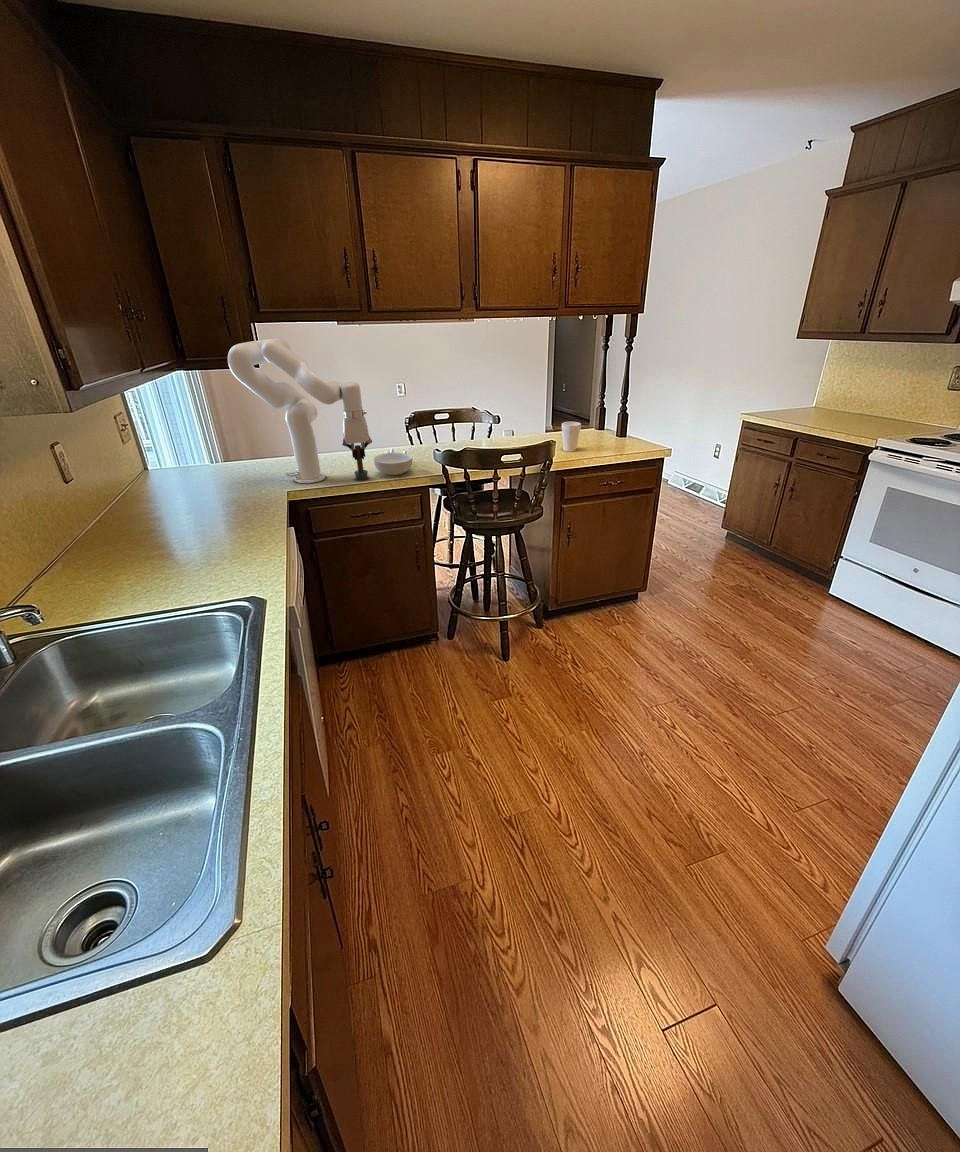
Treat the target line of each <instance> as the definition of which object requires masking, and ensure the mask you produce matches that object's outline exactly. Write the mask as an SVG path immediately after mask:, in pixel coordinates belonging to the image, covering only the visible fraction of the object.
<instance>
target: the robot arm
mask: <svg viewBox="0 0 960 1152" xmlns="http://www.w3.org/2000/svg"><path fill="white" fill-rule="evenodd" d="M266 363H270V364H272V365H273V366H274V367H276V368H277V369H279V370H280V371H281V372H283V373H284V374H286V375H287V376H288V377H290V378H292V379H293V380H294V381H295V382H296V383H297V384H298V385H299V386H300V387H301V388H302V390H303V391H305V393H307V394H308V395H310V396H311V397H313V398H314V399H316V400H317V401H318V402H320V403H322V404H325V405H333V404H335V403H337V402H339V401H342V408H343V416H344V417H342V435H343V438H342V441H341V445H342V446H344V447H347V448H348V449H349V450H351V452H352V453H351V455H352V458H353V459H354V461H357V456H356V450H355V444H360V446H361V454H362V460H365V457H366V451H365V450H366V449H367V447H368V446H369V445H371V444H372V443H373V440H372V438H371V436H370V433H369V427H368V424H367V419H366V417H365V415H367V414H368V413H367V410H364V409H363V402H362V394H361V386H360V384H359V382H356V381H346V382H341V381H335V380H333V381H329V382H325V381H324V380H322V379H320V378H319V377H318V376H316V375H315V374H314V372H312V371H311V369H310V366H309V363H308V362H307V361H306V359H304V358H303V357H301V356H299V355H298V354H296V353H295V352H294V351H293V350H292V349H291V346H290V344H289V343H288V342H287V340H285V339H283V338H281V337H273V338H268V339H259V340H253V341H246V342H241V343H237V344H235V345H233V346H231V348H230V349H229V351H228V353H227V364H228V367H229V370H230V372H231V373H232V375H233V376H234V377H235V378H236V379H237V380H238V381H239V382H240V383H241V384H242V385H244V386H245V387H246V388H248V389H249V390H250V391H251V392H253V393H254V394H255V395H256V396H257V397H259V398H260V399H261V400H262V401H264V402H265V403H266V404H267V405H268V406H269V407H271V408H272V409H274V410H282V409H286V411H285V422H286V426H287V428H288V431H289V435H290V440H291V445H292V450H293V456H294V460H295V461H294V462H295V466H296V469H295V470H293V471H286V477H288V478H294V481H295V482H297V483H298V484H315V483H319V482H321V481H324V480H325V479H326V475H325V474H324V473H323V472H321V465H320V459H319V453H318V447H317V442H316V436H315V432H314V428H313V426H312V423H313V422H314V421H315V420H316V419H317V417H318V409H317V407H316V405H315V403H313V401H311V399H309V398H308V397H307V396H306V395H304V393H302V392H301V391H300V390H298V389H297V388H296V387H295V386H294V385H292V384H290V383H288V382H286V381H285V382H284V381H279V382H276V381H274V380H273V379H271V377H269V376H268V375H267V374H265V372H263V371H261V370H259V369H258V368H257V367H255V366H256V365H261V364H266Z"/></svg>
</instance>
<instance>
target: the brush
mask: <svg viewBox="0 0 960 1152" xmlns="http://www.w3.org/2000/svg"><path fill="white" fill-rule="evenodd" d="M354 448H355V450H356V456H357V460H356V467H357V468H356V469H357V470H355V471H354V472H353V474H354V478H355V481H359V482H361V481H362V482H363V481H367V480H368V479H369V477H368V474H369V473H368V470H366V469H364V463H363V459H362V454H361V444H357V445H354Z"/></svg>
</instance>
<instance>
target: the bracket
mask: <svg viewBox="0 0 960 1152" xmlns="http://www.w3.org/2000/svg"><path fill="white" fill-rule="evenodd" d="M385 453H396V452H395V449H394V447H390V450H389V451H388V450H385V452H384V454H385ZM402 453H406V454H408V451H407V450H406V449H403V451H402Z"/></svg>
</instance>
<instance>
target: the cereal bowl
mask: <svg viewBox="0 0 960 1152" xmlns="http://www.w3.org/2000/svg"><path fill="white" fill-rule="evenodd" d="M373 465H374V468H375V469H376V470H377V471H379V472H380V473H382V474H385V475H387V476H400V475H402V474H403V473H406V472H408V471H409V470H410V469H411V468H412V466H413V456H412V455H411V454H408V453H407V454H406V453H403V452H395V453H385V452H384V453H381V454H377V455H376V456H374V457H373Z"/></svg>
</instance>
